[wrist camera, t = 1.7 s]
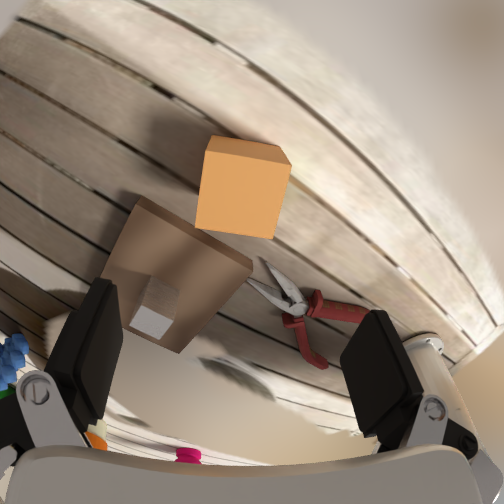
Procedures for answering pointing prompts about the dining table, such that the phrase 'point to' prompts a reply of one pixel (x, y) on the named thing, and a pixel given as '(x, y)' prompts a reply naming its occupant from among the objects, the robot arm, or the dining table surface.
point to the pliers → (311, 306)
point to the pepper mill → (188, 455)
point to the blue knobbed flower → (12, 358)
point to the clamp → (6, 392)
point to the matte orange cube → (242, 187)
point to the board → (171, 276)
